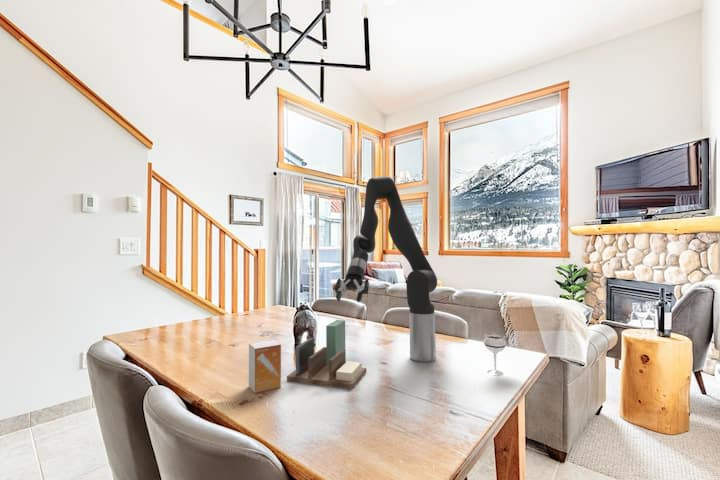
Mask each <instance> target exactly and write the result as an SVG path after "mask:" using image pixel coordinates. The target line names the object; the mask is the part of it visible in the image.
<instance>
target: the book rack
mask: <svg viewBox="0 0 720 480" xmlns="http://www.w3.org/2000/svg"><path fill="white" fill-rule="evenodd" d="M346 351H347V350H346V348H345V349H342V350H341V351H340V352H338V353H337V354H336V355H335V356H333V357H332V358H331V359H330V360H329V364H327V353H326V347H325V346H324V347H323V346H322V348H320V349H319V350H317V352H314V354H313V355H312V356H310V357H309V358H308V369H307V370H306V371H305V372H303V373H302V374H301V375H299V376H298V375H296V369H295V370H293V371H292V372H290V373H289V374H288V375H286V382H293V383H300V384H308V385H314V386H315V385H317V386H324V387H331V388H338V389H339V388H341V389H347V390H354V389H355V388H356V386H357V385H358V384H359V382H360V381H361V380H362V379H363V377H365V375H366V374H367V367H362V370H361V371H360V372H359V373H358V375H357V376H356V377H355V378H354V379H353V380H352V381H346V380H337V379H336V371H337V370H338V369H339V368H341V367H342V366H343V365H344V364H345V363H346V362H347V361H346V360H347V359H346V357H347V356H346Z"/></svg>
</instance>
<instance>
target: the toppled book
mask: <svg viewBox="0 0 720 480" xmlns="http://www.w3.org/2000/svg"><path fill="white" fill-rule="evenodd" d="M362 365H363V363H362V362H361V361H351V360H347V361H346V363H345V364H344V365H343V366H342V367H341V368H339V369H338V370H337V371H336V379H337V380H346V381H352V380H353V379H354V378H355V377H356V376H357V375H358V373H359V372H360V371H361V370H362V368H363V367H362Z"/></svg>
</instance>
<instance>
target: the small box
mask: <svg viewBox="0 0 720 480" xmlns="http://www.w3.org/2000/svg"><path fill="white" fill-rule="evenodd" d="M281 351H282V344H281V343H280V342H278V341H277V340H275V339H272V340H265V341H258V342H253V343H248V387H249V389H250V390H251V392H253V393H254V394H257V393H261V392H264V391H269V390H270V391H271V390H274V389H278V388H279V389H280V388H281V386H282V385H281V384H282V352H281Z"/></svg>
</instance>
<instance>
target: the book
mask: <svg viewBox="0 0 720 480" xmlns="http://www.w3.org/2000/svg"><path fill="white" fill-rule="evenodd" d="M325 328H326V329H325V331H326V332H325V333H326V339H325V341H326V342H325V343H326V344H325V345H326V353H327V364H329V360H330V359H331V358H332V357H333V356H335V355H336V354H337V353H338V352H340V351H341V350H342V349H346V320H343V319H342V320H341V319H336V320H334V321H331V322H330V323H329V324H327V325H326V327H325Z"/></svg>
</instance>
